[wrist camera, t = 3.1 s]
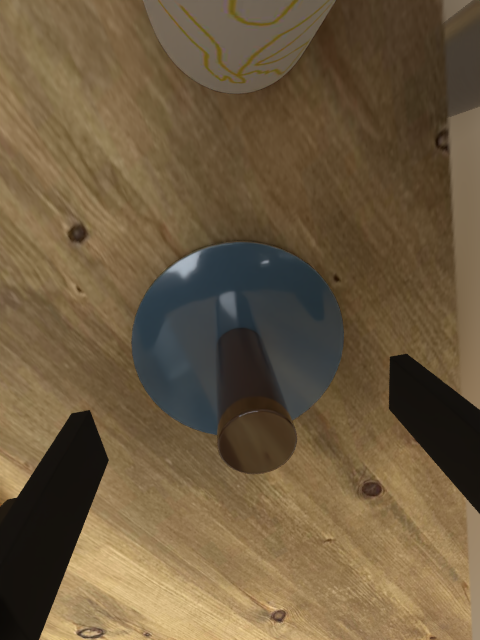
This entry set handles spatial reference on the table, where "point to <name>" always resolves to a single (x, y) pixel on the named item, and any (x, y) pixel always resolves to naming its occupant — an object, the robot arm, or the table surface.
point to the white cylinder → (236, 38)
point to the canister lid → (239, 347)
